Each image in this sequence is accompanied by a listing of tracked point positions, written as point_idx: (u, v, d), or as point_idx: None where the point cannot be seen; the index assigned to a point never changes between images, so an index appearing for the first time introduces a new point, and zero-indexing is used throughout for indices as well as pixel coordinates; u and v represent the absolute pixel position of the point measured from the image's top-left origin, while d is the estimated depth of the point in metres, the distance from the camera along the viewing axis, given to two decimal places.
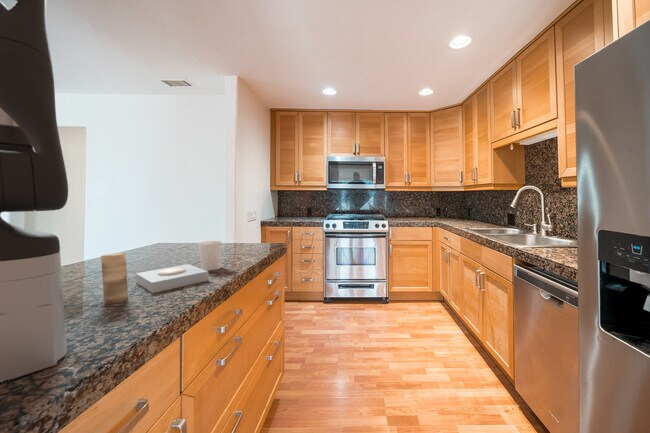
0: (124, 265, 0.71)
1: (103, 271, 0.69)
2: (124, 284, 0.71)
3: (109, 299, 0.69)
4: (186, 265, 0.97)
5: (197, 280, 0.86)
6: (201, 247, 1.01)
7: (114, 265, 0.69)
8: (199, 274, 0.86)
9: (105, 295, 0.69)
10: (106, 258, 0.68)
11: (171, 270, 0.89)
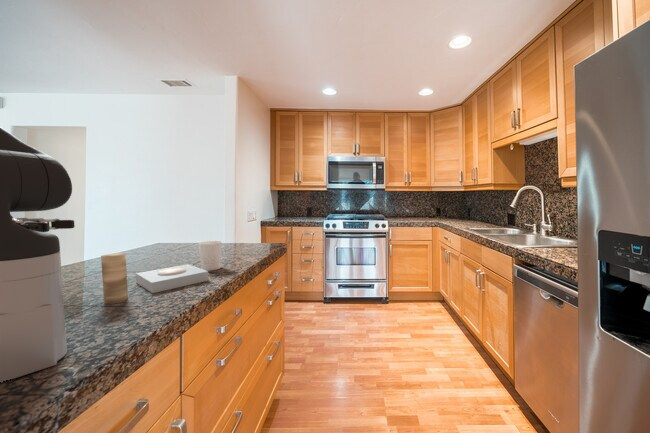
0: (124, 265, 0.71)
1: (103, 271, 0.69)
2: (124, 284, 0.71)
3: (109, 299, 0.69)
4: (186, 265, 0.97)
5: (197, 280, 0.86)
6: (201, 247, 1.01)
7: (114, 265, 0.69)
8: (199, 274, 0.86)
9: (105, 295, 0.69)
10: (106, 258, 0.68)
11: (171, 270, 0.89)
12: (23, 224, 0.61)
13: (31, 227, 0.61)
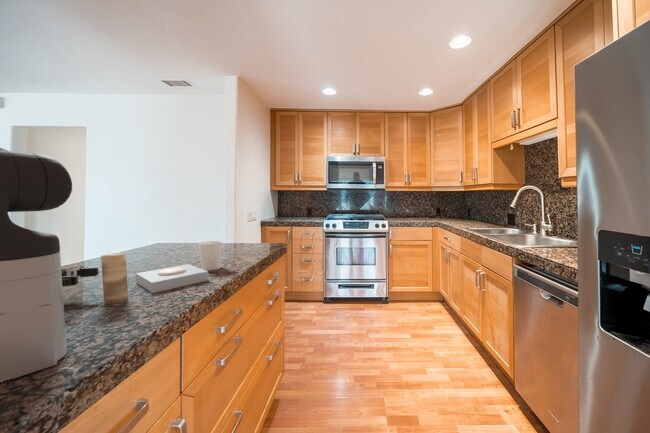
0: (124, 265, 0.71)
1: (103, 271, 0.69)
2: (124, 284, 0.71)
3: (109, 299, 0.69)
4: (186, 265, 0.97)
5: (197, 280, 0.86)
6: (201, 247, 1.01)
7: (114, 265, 0.69)
8: (199, 274, 0.86)
9: (105, 295, 0.69)
10: (106, 258, 0.68)
11: (171, 270, 0.89)
12: None
13: (61, 282, 0.64)
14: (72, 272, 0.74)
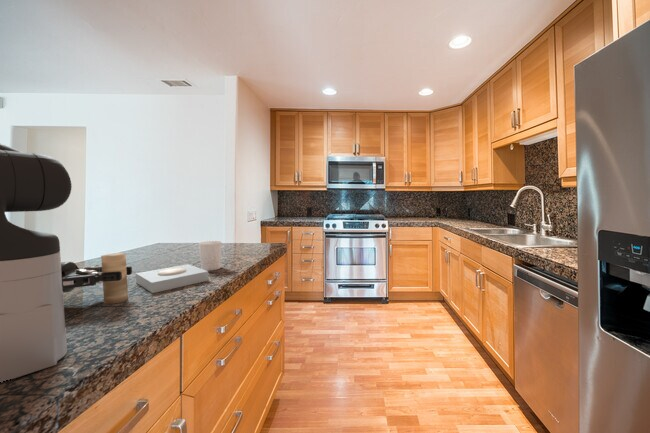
0: (124, 265, 0.71)
1: (103, 271, 0.69)
2: (124, 284, 0.71)
3: (109, 299, 0.69)
4: (186, 265, 0.97)
5: (197, 280, 0.86)
6: (201, 247, 1.01)
7: (114, 265, 0.69)
8: (199, 274, 0.86)
9: (105, 295, 0.69)
10: (106, 258, 0.68)
11: (171, 270, 0.89)
12: (100, 274, 0.67)
13: (107, 277, 0.67)
14: None
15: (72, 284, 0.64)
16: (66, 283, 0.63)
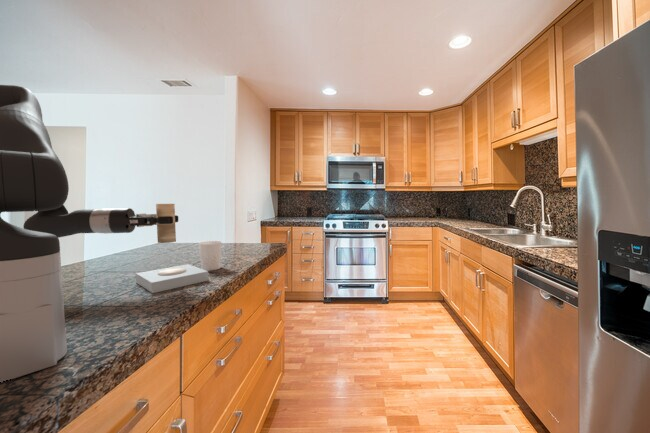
0: (174, 212, 0.86)
1: (158, 215, 0.84)
2: (174, 228, 0.86)
3: (162, 239, 0.84)
4: (186, 265, 0.97)
5: (197, 280, 0.86)
6: (201, 247, 1.01)
7: (167, 211, 0.84)
8: (199, 274, 0.86)
9: (159, 236, 0.84)
10: (161, 205, 0.83)
11: (171, 270, 0.89)
12: (157, 217, 0.82)
13: (162, 220, 0.83)
14: None
15: (137, 223, 0.79)
16: (132, 221, 0.78)
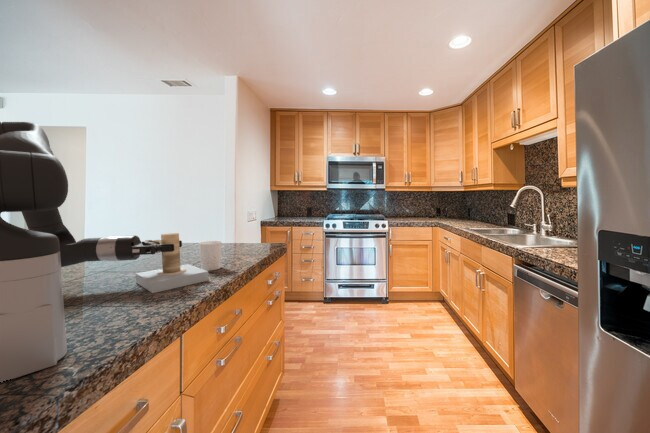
0: (178, 242, 0.87)
1: None
2: (178, 257, 0.87)
3: (167, 270, 0.85)
4: (186, 265, 0.97)
5: (197, 280, 0.86)
6: (201, 247, 1.01)
7: (172, 242, 0.85)
8: (199, 274, 0.86)
9: (164, 266, 0.85)
10: (165, 236, 0.85)
11: None
12: (158, 246, 0.82)
13: (164, 248, 0.82)
14: None
15: (138, 252, 0.79)
16: (134, 251, 0.79)
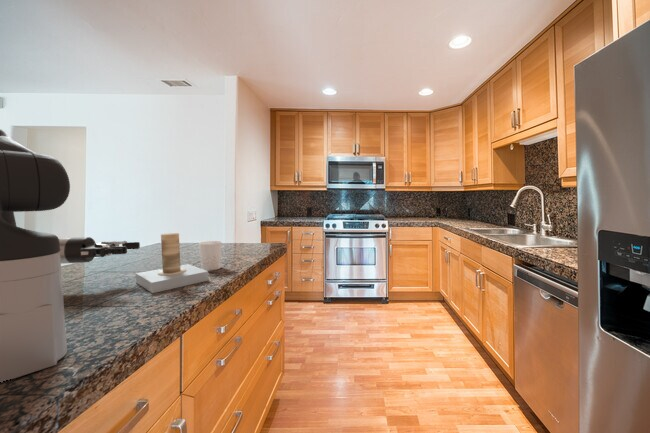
0: (178, 242, 0.87)
1: (163, 246, 0.85)
2: (178, 258, 0.87)
3: (167, 270, 0.85)
4: (186, 265, 0.97)
5: (197, 280, 0.86)
6: (201, 247, 1.01)
7: (172, 242, 0.85)
8: (199, 274, 0.86)
9: (164, 266, 0.85)
10: (165, 236, 0.85)
11: None
12: (109, 248, 0.79)
13: (115, 250, 0.79)
14: (118, 246, 0.90)
15: (87, 254, 0.76)
16: (82, 253, 0.76)
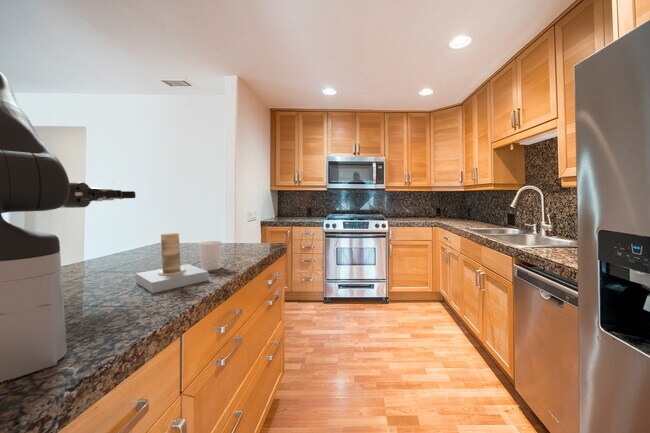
0: (178, 242, 0.87)
1: (163, 246, 0.85)
2: (178, 258, 0.87)
3: (167, 270, 0.85)
4: (186, 265, 0.97)
5: (197, 280, 0.86)
6: (201, 247, 1.01)
7: (172, 242, 0.85)
8: (199, 274, 0.86)
9: (164, 266, 0.85)
10: (165, 236, 0.85)
11: None
12: (104, 191, 0.78)
13: (110, 193, 0.78)
14: None
15: (81, 195, 0.75)
16: (77, 194, 0.75)
